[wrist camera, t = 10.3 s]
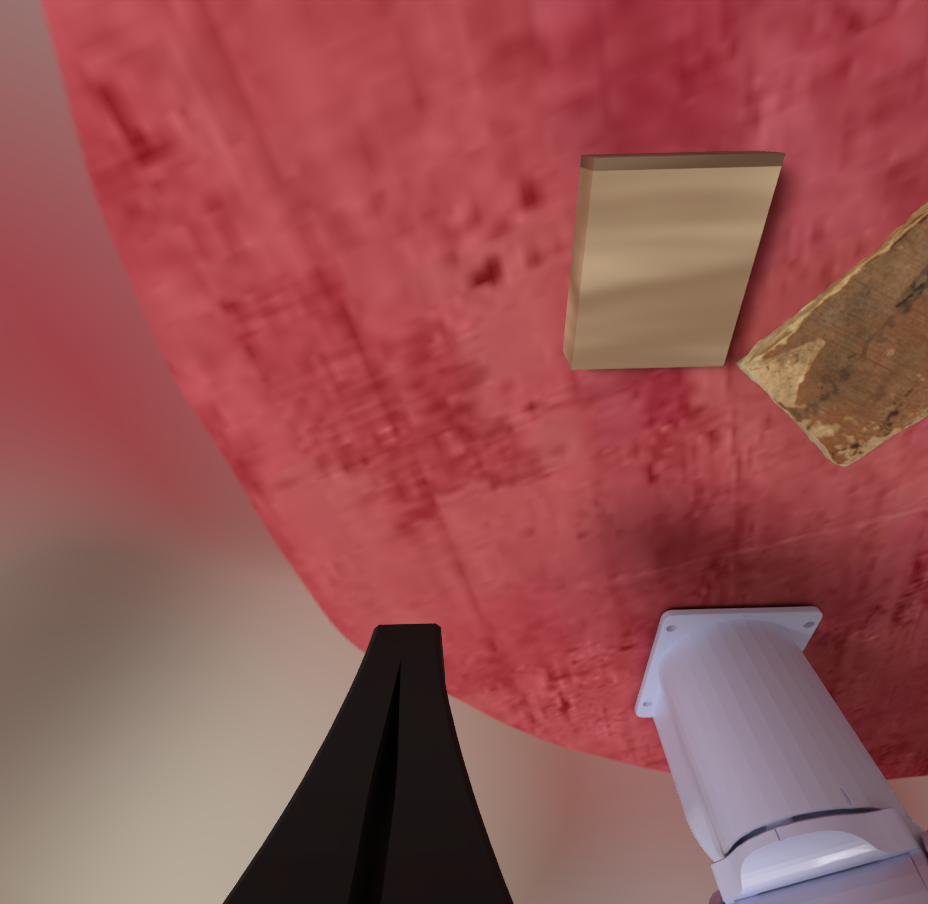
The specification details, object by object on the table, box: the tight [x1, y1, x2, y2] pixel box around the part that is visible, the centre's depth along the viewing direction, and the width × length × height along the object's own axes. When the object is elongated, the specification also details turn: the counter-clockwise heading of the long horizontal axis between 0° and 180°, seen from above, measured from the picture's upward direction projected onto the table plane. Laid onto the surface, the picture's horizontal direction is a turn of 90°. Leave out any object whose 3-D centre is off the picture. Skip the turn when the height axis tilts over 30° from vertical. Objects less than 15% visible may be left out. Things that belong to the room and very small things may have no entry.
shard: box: [736, 202, 928, 466], centre depth 16 cm, size 11×8×2 cm
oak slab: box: [563, 151, 785, 370], centre depth 15 cm, size 2×5×6 cm
